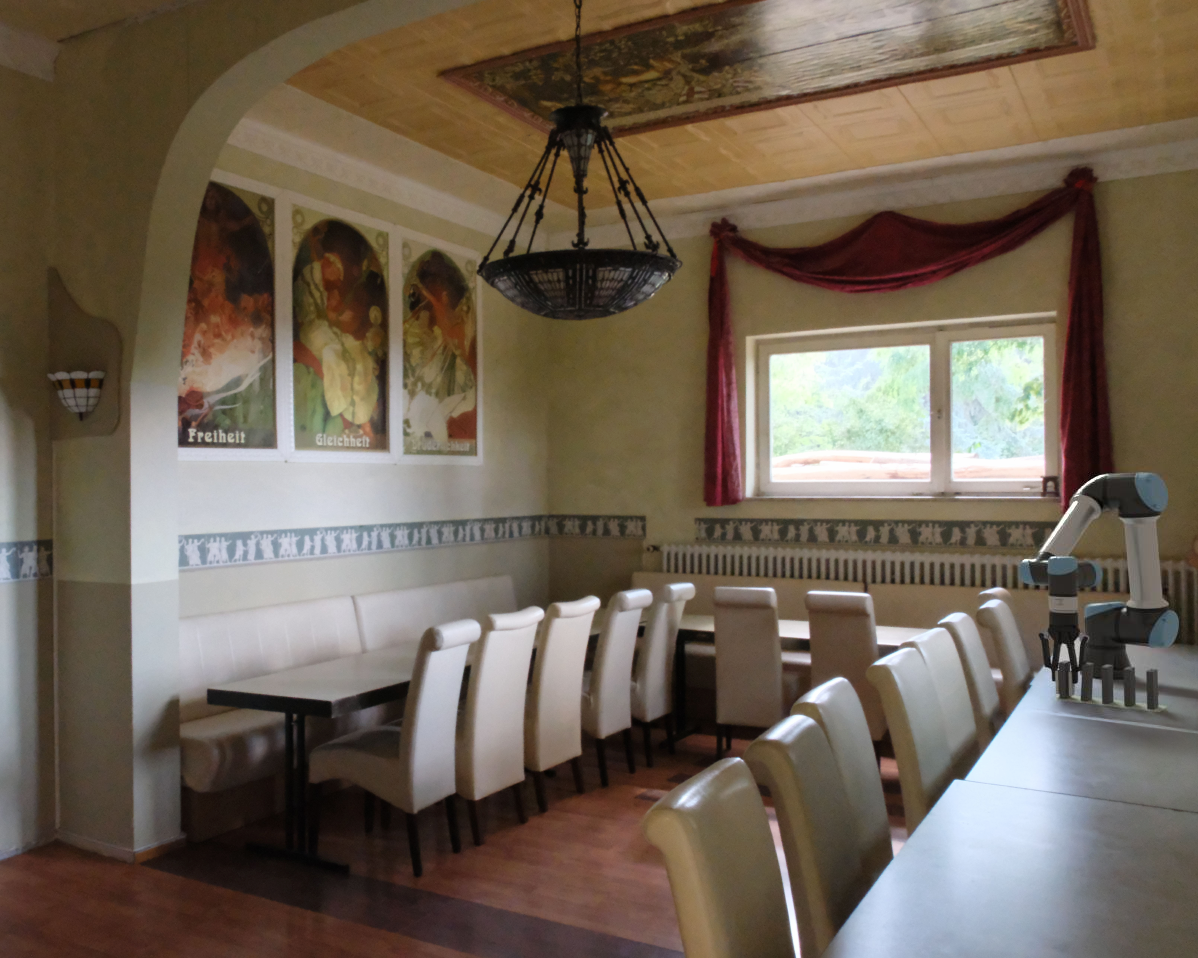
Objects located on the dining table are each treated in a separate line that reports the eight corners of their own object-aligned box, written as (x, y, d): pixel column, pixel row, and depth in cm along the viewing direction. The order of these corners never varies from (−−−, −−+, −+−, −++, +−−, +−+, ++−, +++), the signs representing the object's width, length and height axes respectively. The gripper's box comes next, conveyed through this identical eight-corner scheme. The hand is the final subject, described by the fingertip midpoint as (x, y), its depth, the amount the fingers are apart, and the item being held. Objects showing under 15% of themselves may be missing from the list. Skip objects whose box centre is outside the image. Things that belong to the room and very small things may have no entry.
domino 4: (1129, 702, 266) (1128, 666, 267) (1135, 703, 265) (1134, 667, 266) (1124, 706, 263) (1123, 669, 263) (1130, 706, 262) (1130, 669, 262)
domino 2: (1085, 697, 274) (1087, 662, 273) (1091, 698, 273) (1093, 663, 272) (1080, 700, 270) (1082, 664, 270) (1086, 701, 269) (1088, 665, 269)
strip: (1060, 695, 280) (1060, 693, 280) (1167, 708, 262) (1167, 706, 262) (1051, 700, 273) (1050, 698, 273) (1159, 714, 255) (1159, 711, 255)
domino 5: (1151, 705, 263) (1150, 668, 263) (1158, 706, 262) (1157, 669, 262) (1147, 708, 259) (1146, 671, 259) (1153, 709, 258) (1153, 671, 258)
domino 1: (1064, 695, 277) (1064, 660, 277) (1070, 696, 276) (1070, 660, 276) (1059, 698, 274) (1058, 662, 274) (1065, 699, 272) (1064, 663, 273)
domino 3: (1107, 700, 270) (1106, 664, 270) (1113, 701, 269) (1112, 664, 269) (1102, 703, 266) (1101, 666, 266) (1108, 704, 265) (1107, 667, 265)
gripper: (1029, 610, 278) (1031, 692, 277) (1089, 614, 267) (1091, 699, 267) (1038, 607, 283) (1040, 688, 283) (1097, 611, 273) (1099, 695, 272)
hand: (1065, 693), depth 275 cm, fingers open, 3 cm apart
